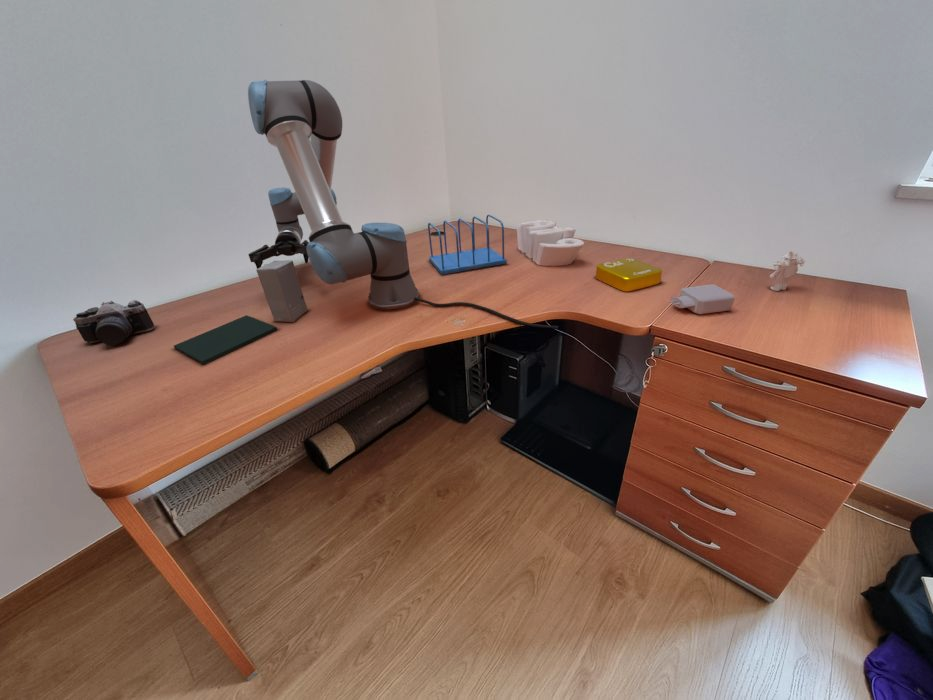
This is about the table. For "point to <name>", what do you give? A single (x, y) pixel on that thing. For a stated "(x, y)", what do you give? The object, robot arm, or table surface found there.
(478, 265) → the file sorter
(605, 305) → the table surface
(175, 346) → the desk mat
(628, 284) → the element tile
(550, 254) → the wavy white extrusion
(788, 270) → the hat wearing toy figure
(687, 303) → the charger
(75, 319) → the camera
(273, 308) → the cosmetic box
